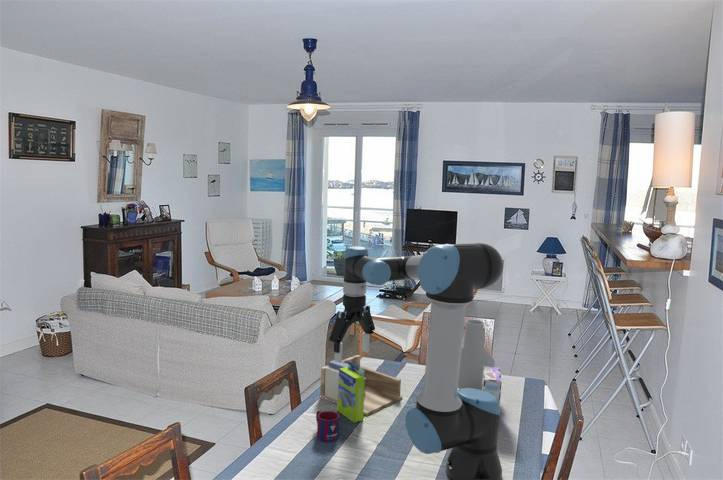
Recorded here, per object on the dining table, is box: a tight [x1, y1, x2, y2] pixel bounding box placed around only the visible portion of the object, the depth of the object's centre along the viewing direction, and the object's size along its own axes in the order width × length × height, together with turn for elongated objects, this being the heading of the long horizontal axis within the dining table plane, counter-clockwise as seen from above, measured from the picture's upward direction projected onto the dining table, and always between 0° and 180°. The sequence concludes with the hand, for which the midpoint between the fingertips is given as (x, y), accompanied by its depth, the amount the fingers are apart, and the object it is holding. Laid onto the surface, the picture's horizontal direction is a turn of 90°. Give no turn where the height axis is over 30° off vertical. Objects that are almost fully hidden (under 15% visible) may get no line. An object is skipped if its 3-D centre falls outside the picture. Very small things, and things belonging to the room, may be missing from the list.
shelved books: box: [325, 359, 348, 400], centre depth 198 cm, size 5×9×12 cm, turn 50°
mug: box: [315, 410, 340, 442], centre depth 173 cm, size 7×10×7 cm
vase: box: [458, 319, 496, 390], centre depth 206 cm, size 17×16×28 cm
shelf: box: [320, 354, 403, 417], centre depth 201 cm, size 20×22×11 cm
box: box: [337, 361, 365, 423], centre depth 185 cm, size 10×4×17 cm, turn 35°
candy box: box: [482, 366, 503, 403], centre depth 186 cm, size 14×6×16 cm, turn 168°
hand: (352, 356), depth 184 cm, fingers open, 13 cm apart
